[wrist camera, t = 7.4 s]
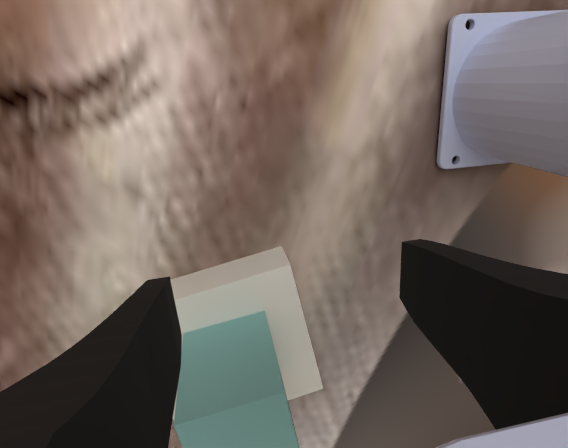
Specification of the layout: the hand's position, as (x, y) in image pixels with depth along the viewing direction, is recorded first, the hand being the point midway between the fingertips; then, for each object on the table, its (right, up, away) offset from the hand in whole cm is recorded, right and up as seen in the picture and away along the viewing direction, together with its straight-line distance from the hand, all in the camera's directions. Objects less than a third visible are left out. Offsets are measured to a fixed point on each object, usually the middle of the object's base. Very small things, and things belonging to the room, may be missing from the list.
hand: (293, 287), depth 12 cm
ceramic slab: (-4, -5, +13) cm, 14 cm away
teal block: (-3, -5, +10) cm, 12 cm away
